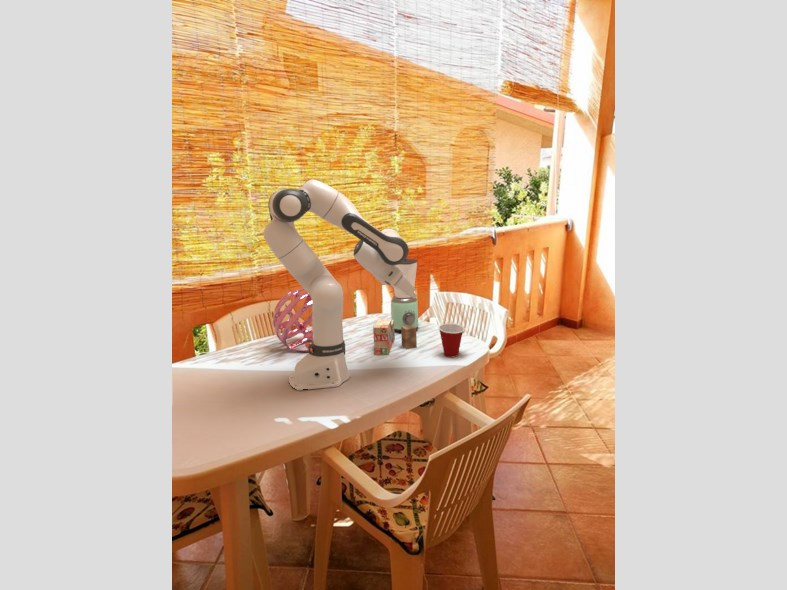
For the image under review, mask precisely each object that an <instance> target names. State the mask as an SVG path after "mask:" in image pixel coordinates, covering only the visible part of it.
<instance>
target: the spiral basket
mask: <svg viewBox="0 0 787 590" xmlns="http://www.w3.org/2000/svg"><path fill="white" fill-rule="evenodd" d="M303 291H305V292H303ZM301 292H303V293H301ZM293 296H294V299H293V300H292V301H290V302H289V303H288V305H287V304H286V303H287V302H288V301H289V300H290V299H291V298H292V297H293ZM304 298H305V301H304V302H303V304H302V306H300V308H299V309H298V310H296V311H295V312H294V313H293V312H292V311H293V309H295V307H296V306H297V305H298V303H300V302H301V301H302V300H303V299H304ZM283 306H285V308H284V309H283V310H281V309H282V307H283ZM311 308H312V299H311V297H310V295H309V294H308V293H307V292H306V290H305V289H304V288H303V287H302V288H299V289H295V290H291V291H289V292H287V293H286V294H285V295H283V296H282V297H281V298H280V299H279V300H278V302H277V303H276V306H275V308H274V313H273V314H272V315H273V317H272V326H273V328H274V333H275V336H276V337H277V338H278V339H279V341H280V343H282V344H283V345H284V346H285V347H286V348H288V349H290V350H291V351H294V352H298V351H305V352H304V353H309V352H308V349H299V348H296V347H293V346H295V345H297V344H299V343H302V342H304V343H307V342H308V341H311V342H312V343H313V331H312V329H311V330H309V329H307V327H308V326H309V325H310V324H312V312H311V313H310V314H309V315H308V316H307V318H306V319H305V320H303V322H300V321H299V319H300V318H301V317H302V316H303V315H304V313H305V312H307V311H308V310H309V309H311ZM287 315H288V316H289V318H288V319H287V320H285V321H283V320H284V319H285V318H286V316H287ZM294 325H295V329H294V330H291V329H292V328H293V326H294ZM280 330H282V333H280ZM298 334H303V336H302V337H300V338H299V339H298V340H296V341H294V342H291V343H287V340H288V339H292V338H294V337H295V336H297V335H298ZM292 347H293V348H292Z"/></svg>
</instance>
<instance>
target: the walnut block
mask: <svg viewBox="0 0 787 590" xmlns="http://www.w3.org/2000/svg"><path fill="white" fill-rule="evenodd" d="M417 340H418V339H417V331H416V327H414V326H413V325H408V326H401V346H402V348H404V349H405V350H410V349H416V348H417V344H418V343H417Z"/></svg>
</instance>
